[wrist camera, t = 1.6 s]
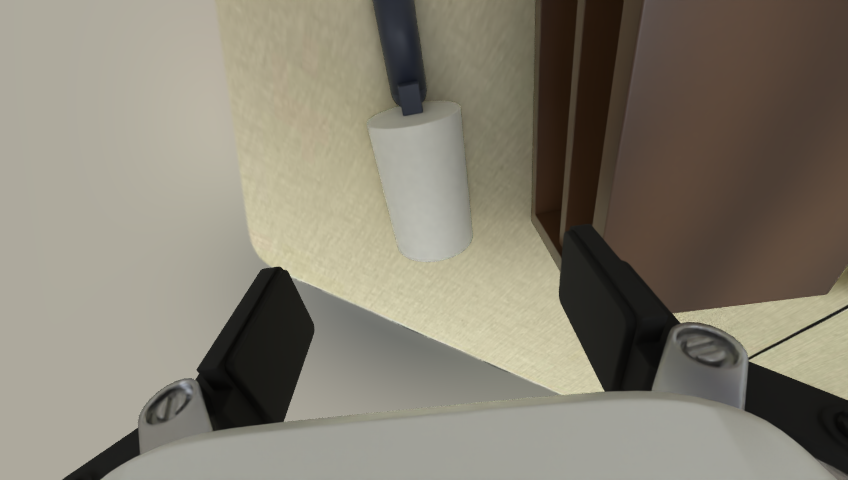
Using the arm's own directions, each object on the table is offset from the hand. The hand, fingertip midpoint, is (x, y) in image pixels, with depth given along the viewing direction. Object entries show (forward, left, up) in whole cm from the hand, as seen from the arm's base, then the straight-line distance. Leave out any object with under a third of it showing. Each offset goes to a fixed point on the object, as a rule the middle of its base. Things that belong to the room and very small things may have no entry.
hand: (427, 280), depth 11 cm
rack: (+14, +1, -15) cm, 20 cm away
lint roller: (0, +2, -15) cm, 15 cm away
